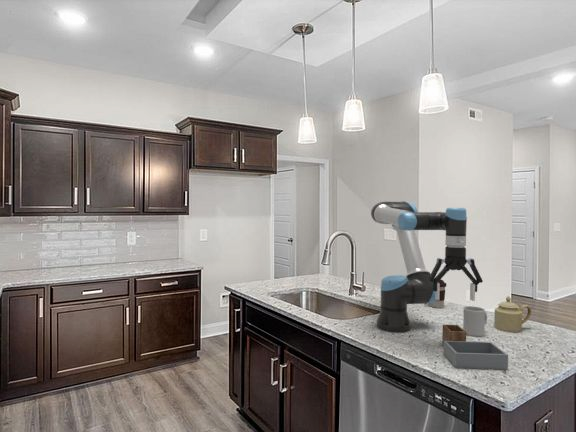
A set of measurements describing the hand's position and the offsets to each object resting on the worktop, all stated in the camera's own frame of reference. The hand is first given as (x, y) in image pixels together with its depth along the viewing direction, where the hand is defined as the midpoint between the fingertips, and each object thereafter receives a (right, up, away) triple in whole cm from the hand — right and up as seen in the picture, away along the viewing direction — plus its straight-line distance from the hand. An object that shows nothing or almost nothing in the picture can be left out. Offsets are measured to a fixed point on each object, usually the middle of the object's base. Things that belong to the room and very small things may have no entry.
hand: (454, 299), depth 152 cm
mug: (+17, -19, +17) cm, 31 cm away
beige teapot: (+36, -19, +24) cm, 47 cm away
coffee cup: (+17, -18, +62) cm, 66 cm away
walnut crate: (0, -19, 0) cm, 19 cm away
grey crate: (+1, -19, -14) cm, 24 cm away
